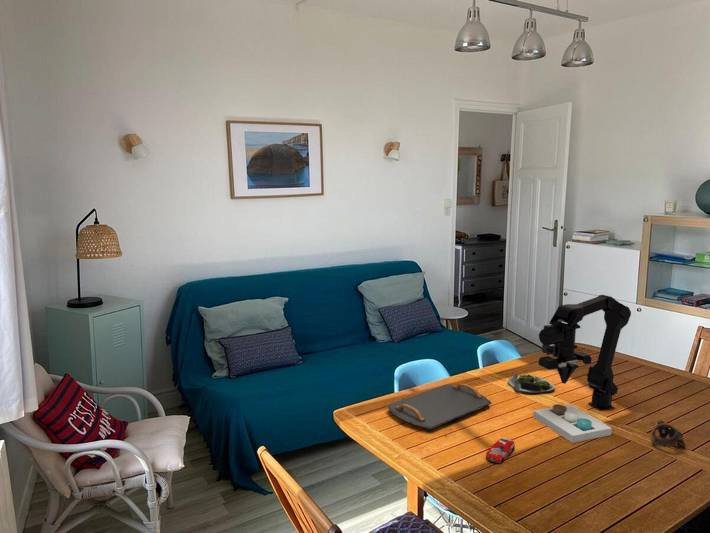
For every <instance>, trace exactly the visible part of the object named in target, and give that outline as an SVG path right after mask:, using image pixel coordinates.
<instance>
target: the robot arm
mask: <svg viewBox="0 0 710 533" xmlns="http://www.w3.org/2000/svg"><path fill="white" fill-rule="evenodd" d="M599 311H603V312H604V315H603V320H604V323H605V325H606V326H605V330H604V333H603V338H602V342H601V345H600V348H599V350H600V351H599V353H598V357H597V362H596V363H595V364H594V365H593V366H591V365H590V366H589V367H588V372H587V375H586V377H587V378H586V381H587V383H588V388H589V389H592V390H593V391H592V395H591V401H590V402H588V404H589V405H590V406H592V407H594V408H595V409H598V410H599V411H607V410H613V409H615V406H614V405H612V399H613V396H615V395H616V394H618V390H619V387H618V386H617V385H616V384H615V382H614V377H615V376H614V372H613V369H612V365H613V361H614V357H615V353H616V350H617V347H618V342H619V338H620V336H621V335H620V334H621V330H622V329H624V327H626V326H627V325H628V323H629V321H630V318H631V316H632V311H631V310H630V307H628V306H627V305H624V304H623V303H621V302H619V301H618V300H616V299H615V298H614V297H613V296H611V295H607V294H600V295H598V296H596V297H594V298H590V299H588V300H585V301H582V302H579V303H575V304H574V303H572V304H571V303H570V304H569V303H567V304H561V305H559V306H557V309H556V311H555V312H554V313H553V316H552V317H551V319H550V320H549V323H548V325H547V324H545V325H543V329H541V330H540V331H539V333H538V339H539V342H540V343H541V345H542V346H541V351H542V353H543V354H546V356H541V357H539V358H538V365H539V366H541V367H543V368H544V369H546V370H549V371H551V370H557V372H558V375H559V377H560V378H559V379H560V381H561V383H562V384H567V382H568V381H569V379H570V377H571V376H572V374H573V373H574V371H575V370H576V369H578V368H579V365H578V364H576V362H579V361H582V363H583V364H584V365H589V364H592V357H591V355H590V354H588V353H585V352H583V351H575V350H576V349H578V345H577V344H576V332H577V329H581V326H580V324H578V323H580V322H581V321H582V320H583V318H584V317H586V316H589V315H590V314H594V313H596V312H599ZM550 355H552V356H553V357H551V356H550Z"/></svg>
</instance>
